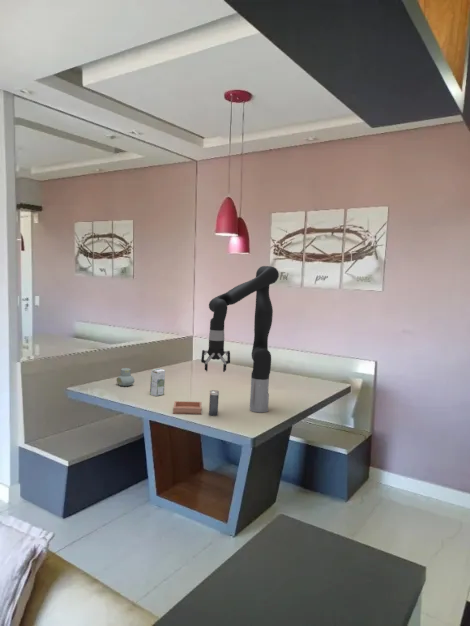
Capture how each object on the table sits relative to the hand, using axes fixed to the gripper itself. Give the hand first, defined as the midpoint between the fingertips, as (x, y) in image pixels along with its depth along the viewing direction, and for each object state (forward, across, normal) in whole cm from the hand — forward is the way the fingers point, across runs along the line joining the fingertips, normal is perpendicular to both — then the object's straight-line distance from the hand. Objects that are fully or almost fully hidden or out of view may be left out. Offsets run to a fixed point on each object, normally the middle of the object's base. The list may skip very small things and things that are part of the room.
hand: (215, 371), depth 231 cm
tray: (+22, +13, -6) cm, 26 cm away
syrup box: (+22, +31, -35) cm, 52 cm away
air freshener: (+22, +52, -55) cm, 79 cm away
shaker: (+22, 0, 0) cm, 22 cm away
